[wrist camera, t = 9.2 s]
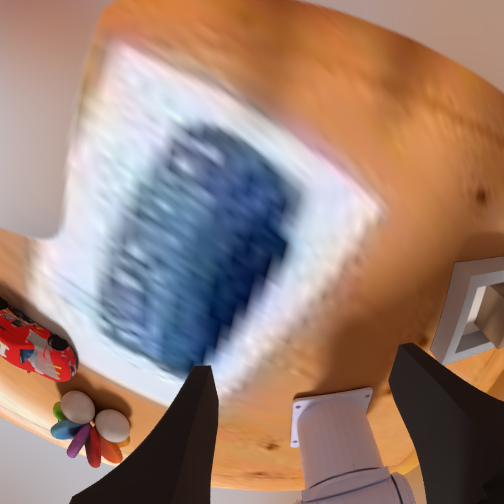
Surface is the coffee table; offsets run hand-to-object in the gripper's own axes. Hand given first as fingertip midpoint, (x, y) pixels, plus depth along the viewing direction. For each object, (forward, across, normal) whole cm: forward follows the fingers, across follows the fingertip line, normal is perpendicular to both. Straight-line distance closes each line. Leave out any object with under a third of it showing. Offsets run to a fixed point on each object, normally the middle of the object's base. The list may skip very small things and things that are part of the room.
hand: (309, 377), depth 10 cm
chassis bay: (+10, -22, +6) cm, 25 cm away
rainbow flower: (+11, +21, +18) cm, 30 cm away
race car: (+11, +25, +6) cm, 28 cm away
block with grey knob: (+10, -22, +6) cm, 25 cm away
